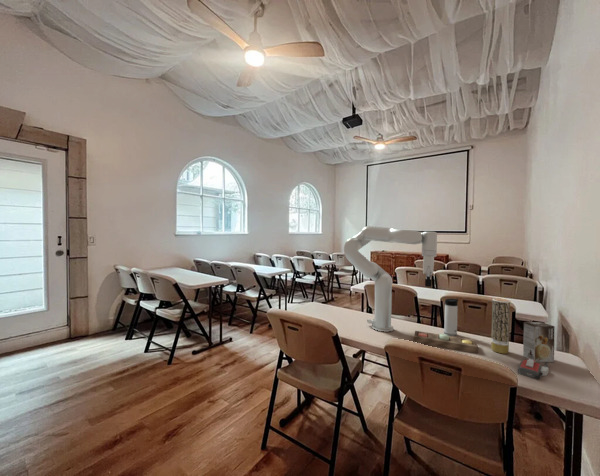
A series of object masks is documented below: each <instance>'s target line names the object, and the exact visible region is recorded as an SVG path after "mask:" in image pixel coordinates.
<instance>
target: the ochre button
mask: <svg viewBox="0 0 600 476" xmlns="http://www.w3.org/2000/svg"><path fill="white" fill-rule="evenodd" d="M462 343H466V344H472V342H471V341H469V340H462Z"/></svg>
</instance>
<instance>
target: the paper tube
mask: <svg viewBox="0 0 600 476" xmlns="http://www.w3.org/2000/svg"><path fill="white" fill-rule="evenodd" d="M510 314H511V301H510V300H509V299H507V298H506V299H505V298H498V297H493V298H492V308H491V339H490V340H491V347H490V348H491V350H492V351H493V352H495V353H498V354H502V355H505V354H508V353H509V352H510V351H509V347H510V316H511V315H510Z"/></svg>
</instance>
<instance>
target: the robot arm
mask: <svg viewBox="0 0 600 476" xmlns="http://www.w3.org/2000/svg"><path fill="white" fill-rule="evenodd" d="M371 241H374V242H381V243H382V242H383V243H397V244H407V245H419V244H421V257H423V259H422V260H423V262H422V274H423V275H424V274H425V279H424V285H425V287H427V288H428V287H430V288H432V285H433V284H432V281H433V280H432V275H433V274H434V267H435V265H434V264H435V257H437V256H438V255H437V249H438V247H437V246H438V233H437V232H436V231H418V230H411V229H410V230H409V229H399V228H393V227H386V226H385V227H382V226H374V225H373V226H371V225H367V226H364V227H363V228H362V230H361V231H360V232H359V233H357V234H356V235H354V236H353V237H349V238H348V239H346V241H345V242H344V245H343V252H344V256H345V258H346V259H347V261H348V262H349V263H351V264H352V266H354V268H355V269H357V270H358V271H359V272H360V273H361V275H363V276H364V277H365V278H367V279H371V280H372V281H373V282H374V315H373V316H374V319H373V318H372V319H369V318H367V319H366V323H368V324H370V325H371V328H372V330H374V329H375V330H374V331H377V330H378V331H377V332H381V331H384V332H383V333H390V332H389V331H391V332H393V331H394V330H395V327H394V326H392V298H393V297H392V294H393V293H392V289H393V279H392V276H391V275H390V274H389V272H387V271H386V270H384V268H382V267H381V265H379V264H377V263H376V262H374V261H371V260H369V259H368V258H367V257H366V256H364V254H362V253H361V252H360V251H359V250H360V249H362V248H364V247H365V246H366V245H368V244H369V243H371Z"/></svg>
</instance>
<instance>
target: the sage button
mask: <svg viewBox="0 0 600 476" xmlns="http://www.w3.org/2000/svg"><path fill="white" fill-rule="evenodd" d="M439 339H441V340H448V341H449V335H446V334H445V333H439Z"/></svg>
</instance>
